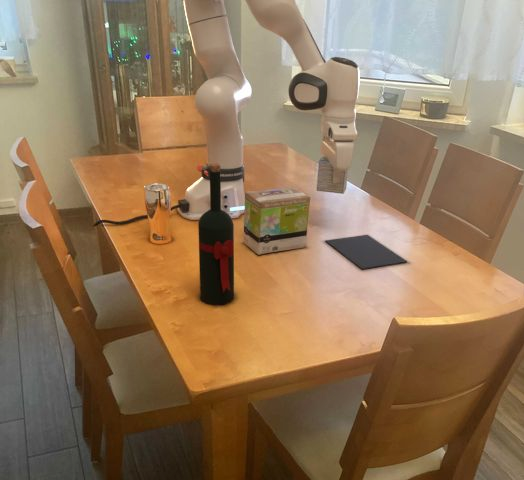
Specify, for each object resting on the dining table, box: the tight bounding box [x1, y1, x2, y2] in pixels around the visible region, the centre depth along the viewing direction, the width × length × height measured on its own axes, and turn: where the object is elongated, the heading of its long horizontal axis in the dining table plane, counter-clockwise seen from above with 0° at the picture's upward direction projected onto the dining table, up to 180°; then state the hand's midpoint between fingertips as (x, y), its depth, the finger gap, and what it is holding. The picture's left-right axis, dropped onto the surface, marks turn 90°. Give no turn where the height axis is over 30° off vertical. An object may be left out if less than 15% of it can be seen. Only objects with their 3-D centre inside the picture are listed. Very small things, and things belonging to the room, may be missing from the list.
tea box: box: [242, 186, 311, 256], centre depth 148 cm, size 15×10×15 cm
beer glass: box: [143, 182, 173, 245], centre depth 149 cm, size 7×7×15 cm
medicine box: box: [315, 156, 349, 195], centre depth 152 cm, size 8×4×9 cm, turn 73°
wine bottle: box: [197, 164, 235, 306], centre depth 117 cm, size 8×10×30 cm
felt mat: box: [325, 234, 408, 271], centre depth 151 cm, size 14×20×1 cm
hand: (332, 178), depth 153 cm, fingers closed on medicine box, 5 cm apart
